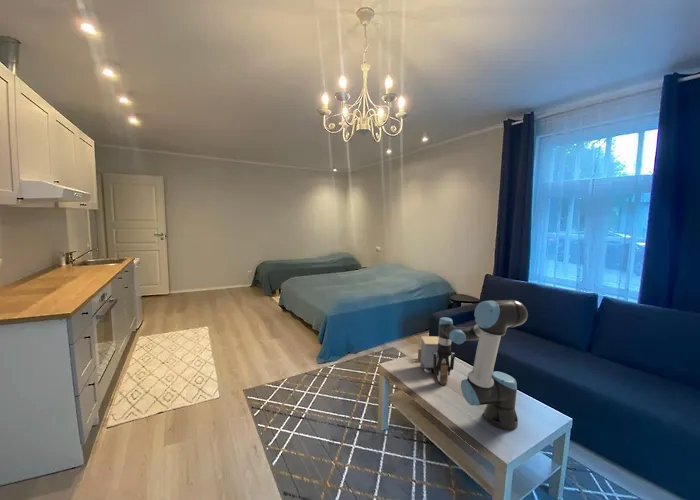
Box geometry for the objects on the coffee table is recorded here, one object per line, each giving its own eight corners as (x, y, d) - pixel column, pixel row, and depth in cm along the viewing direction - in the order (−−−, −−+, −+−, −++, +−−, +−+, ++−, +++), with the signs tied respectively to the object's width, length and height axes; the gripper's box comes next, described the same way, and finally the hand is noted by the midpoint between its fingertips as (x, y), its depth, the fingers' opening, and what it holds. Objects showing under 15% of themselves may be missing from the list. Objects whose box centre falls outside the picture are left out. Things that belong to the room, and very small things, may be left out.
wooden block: (446, 384, 178) (447, 365, 176) (440, 384, 177) (441, 365, 176) (438, 369, 194) (439, 352, 193) (432, 369, 194) (433, 352, 193)
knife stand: (447, 361, 207) (448, 352, 207) (419, 361, 207) (419, 351, 206) (445, 358, 211) (446, 349, 210) (417, 358, 211) (418, 349, 210)
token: (432, 373, 191) (432, 371, 191) (425, 373, 191) (425, 371, 191) (430, 369, 196) (430, 367, 196) (423, 369, 196) (423, 367, 196)
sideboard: (445, 376, 188) (447, 344, 186) (424, 376, 188) (425, 344, 186) (439, 366, 201) (441, 336, 198) (419, 365, 201) (420, 336, 198)
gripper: (456, 340, 180) (454, 376, 183) (428, 340, 180) (426, 376, 183) (461, 346, 173) (458, 383, 176) (432, 345, 173) (430, 383, 176)
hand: (442, 380), depth 179 cm, fingers closed on wooden block, 4 cm apart
